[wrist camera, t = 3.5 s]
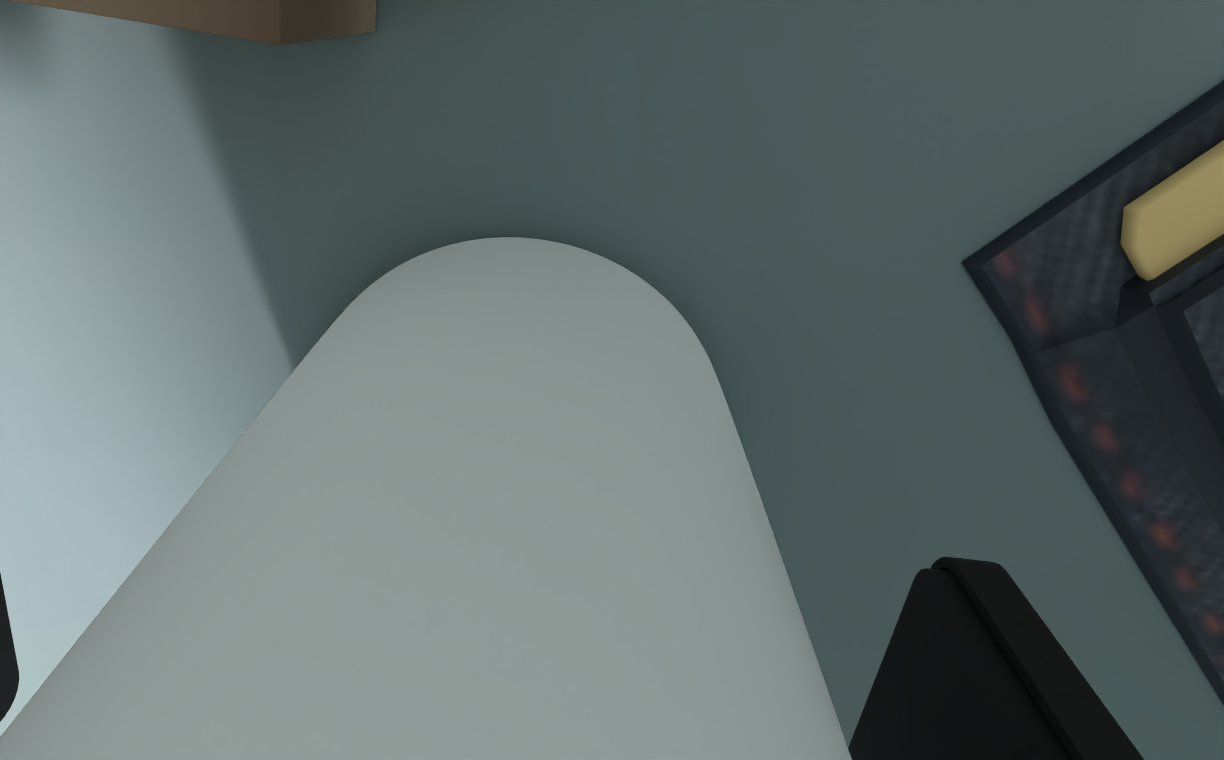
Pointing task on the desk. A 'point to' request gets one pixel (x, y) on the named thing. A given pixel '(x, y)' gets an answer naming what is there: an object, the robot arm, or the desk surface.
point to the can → (463, 550)
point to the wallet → (1136, 351)
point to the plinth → (240, 16)
